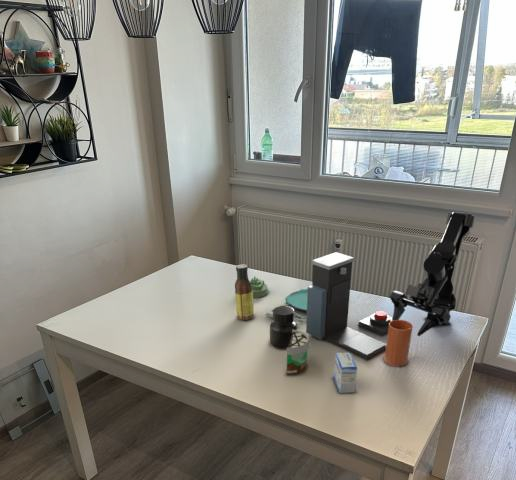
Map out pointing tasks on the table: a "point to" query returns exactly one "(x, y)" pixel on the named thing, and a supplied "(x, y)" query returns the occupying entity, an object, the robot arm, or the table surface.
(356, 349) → the coffee maker
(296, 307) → the cutlery set
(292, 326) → the ink bottle
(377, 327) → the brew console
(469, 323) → the table surface
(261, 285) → the decorative artifact
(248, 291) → the sauce bottle
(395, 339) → the cup
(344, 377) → the medicine box
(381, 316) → the button
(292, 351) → the food container
